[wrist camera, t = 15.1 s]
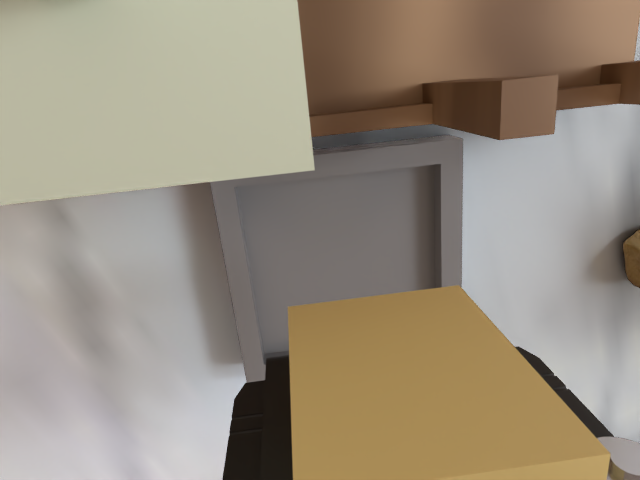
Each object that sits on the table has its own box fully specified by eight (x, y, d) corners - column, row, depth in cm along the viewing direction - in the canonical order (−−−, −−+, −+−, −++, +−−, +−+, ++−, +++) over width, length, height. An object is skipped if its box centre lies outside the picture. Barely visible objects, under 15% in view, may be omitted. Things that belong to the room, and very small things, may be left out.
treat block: (458, 285, 10) (610, 453, 6) (457, 422, 12) (578, 652, 7) (287, 306, 10) (293, 500, 5) (306, 444, 11) (324, 696, 7)
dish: (449, 134, 17) (463, 138, 15) (448, 337, 20) (460, 355, 18) (213, 160, 16) (207, 167, 15) (249, 363, 19) (247, 383, 18)
